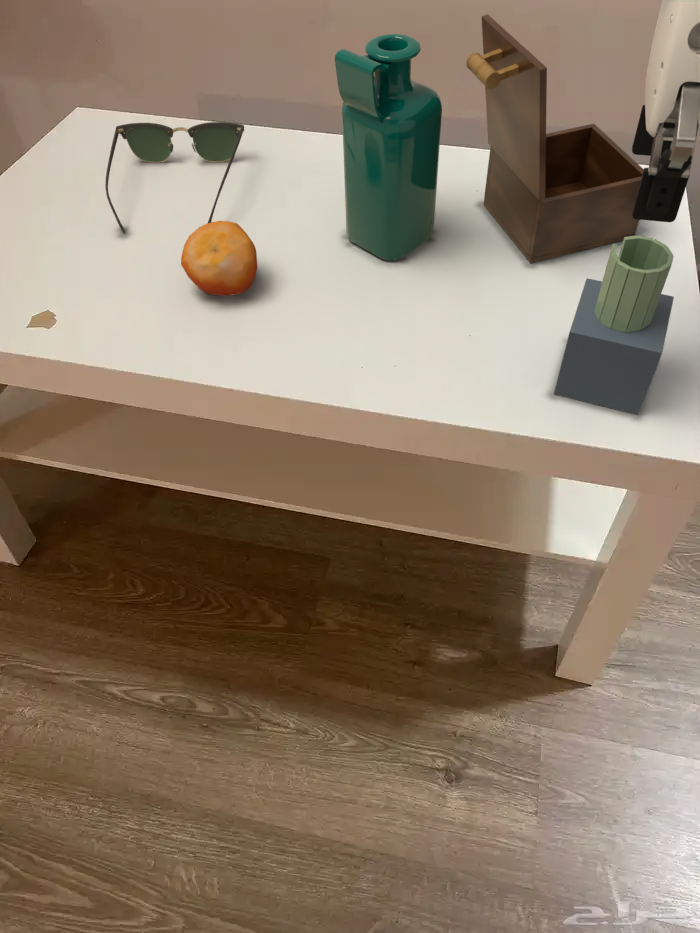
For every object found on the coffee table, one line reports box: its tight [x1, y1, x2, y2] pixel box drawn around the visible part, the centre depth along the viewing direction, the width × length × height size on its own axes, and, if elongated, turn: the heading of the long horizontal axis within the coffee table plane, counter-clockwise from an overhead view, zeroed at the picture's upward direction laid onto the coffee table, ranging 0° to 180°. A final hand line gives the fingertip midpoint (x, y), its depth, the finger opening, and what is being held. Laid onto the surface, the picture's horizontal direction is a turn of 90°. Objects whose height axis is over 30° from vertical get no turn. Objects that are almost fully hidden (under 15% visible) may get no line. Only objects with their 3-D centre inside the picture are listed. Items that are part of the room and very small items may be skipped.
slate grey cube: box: [553, 278, 675, 416], centre depth 74 cm, size 8×8×8 cm
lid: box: [465, 13, 548, 201], centre depth 80 cm, size 14×12×4 cm
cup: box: [594, 235, 674, 333], centre depth 68 cm, size 5×5×6 cm
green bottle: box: [334, 33, 443, 261], centre depth 83 cm, size 10×8×22 cm
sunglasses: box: [104, 121, 245, 234], centre depth 97 cm, size 16×17×5 cm
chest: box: [483, 123, 644, 264], centre depth 90 cm, size 13×12×8 cm
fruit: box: [180, 220, 258, 297], centre depth 85 cm, size 8×8×8 cm
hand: (651, 185), depth 64 cm, fingers open, 9 cm apart
